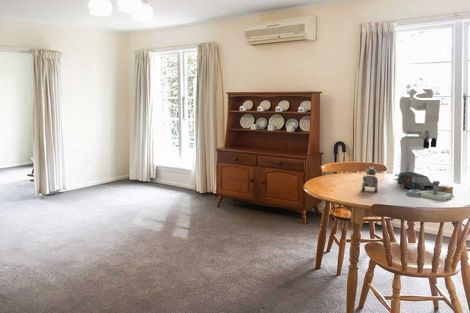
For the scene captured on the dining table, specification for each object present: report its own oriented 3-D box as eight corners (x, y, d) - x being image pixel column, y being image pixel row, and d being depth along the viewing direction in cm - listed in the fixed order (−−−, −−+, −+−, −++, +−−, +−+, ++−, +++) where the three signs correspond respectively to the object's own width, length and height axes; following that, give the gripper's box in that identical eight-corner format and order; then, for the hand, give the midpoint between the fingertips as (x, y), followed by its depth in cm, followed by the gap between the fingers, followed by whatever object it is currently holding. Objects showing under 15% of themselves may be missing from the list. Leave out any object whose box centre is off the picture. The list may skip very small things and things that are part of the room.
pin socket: (406, 195, 253) (406, 190, 252) (411, 193, 257) (412, 189, 257) (417, 197, 247) (418, 192, 247) (423, 195, 252) (423, 191, 251)
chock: (437, 193, 257) (437, 185, 256) (441, 192, 260) (441, 185, 259) (448, 196, 251) (449, 187, 251) (452, 195, 254) (452, 187, 253)
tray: (419, 196, 249) (419, 192, 248) (427, 193, 256) (428, 189, 255) (443, 201, 238) (443, 196, 238) (451, 198, 245) (451, 194, 245)
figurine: (379, 189, 266) (380, 166, 264) (375, 193, 256) (377, 169, 254) (364, 188, 271) (365, 165, 269) (360, 191, 261) (361, 167, 259)
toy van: (420, 194, 255) (422, 178, 253) (396, 186, 279) (397, 171, 277) (436, 193, 257) (437, 177, 256) (410, 185, 281) (411, 171, 280)
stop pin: (430, 196, 247) (431, 181, 246) (433, 195, 249) (434, 180, 248) (436, 197, 244) (438, 182, 243) (439, 196, 246) (440, 181, 245)
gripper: (431, 118, 260) (429, 146, 262) (418, 119, 249) (416, 148, 251) (444, 119, 254) (442, 147, 257) (431, 120, 243) (429, 149, 245)
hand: (429, 147), depth 254 cm, fingers open, 9 cm apart
